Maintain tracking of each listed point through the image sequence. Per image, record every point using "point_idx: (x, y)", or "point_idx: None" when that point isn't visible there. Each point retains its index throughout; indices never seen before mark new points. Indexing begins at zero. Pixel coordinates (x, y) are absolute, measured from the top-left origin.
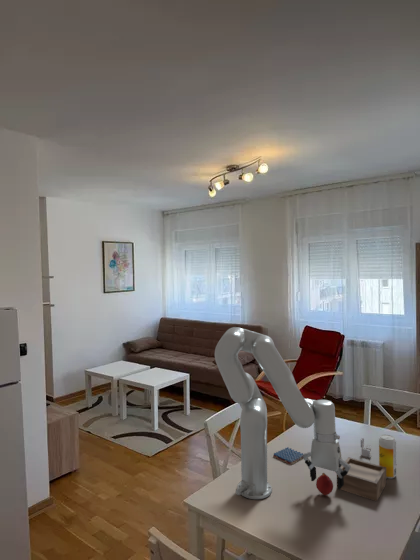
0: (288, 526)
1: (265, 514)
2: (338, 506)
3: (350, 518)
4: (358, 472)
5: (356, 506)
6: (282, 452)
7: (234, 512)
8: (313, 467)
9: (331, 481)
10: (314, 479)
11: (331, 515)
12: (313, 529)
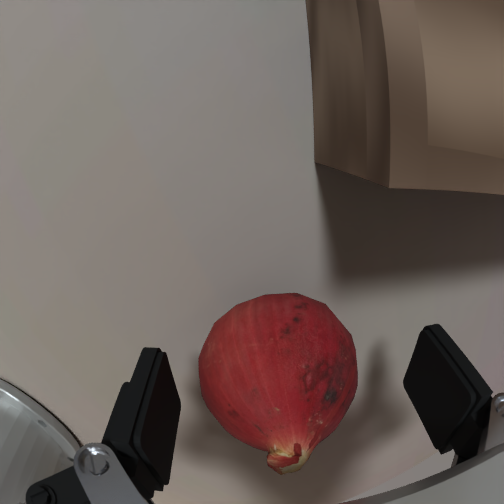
0: (239, 498)
1: None
2: (374, 357)
3: None
4: (497, 17)
5: (454, 294)
6: None
7: None
8: (146, 491)
9: (354, 382)
10: (175, 388)
11: (352, 421)
12: (310, 481)
